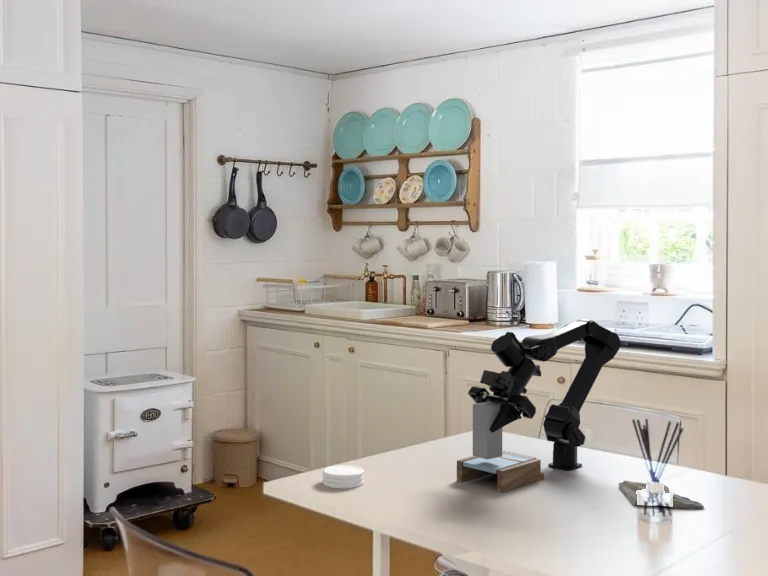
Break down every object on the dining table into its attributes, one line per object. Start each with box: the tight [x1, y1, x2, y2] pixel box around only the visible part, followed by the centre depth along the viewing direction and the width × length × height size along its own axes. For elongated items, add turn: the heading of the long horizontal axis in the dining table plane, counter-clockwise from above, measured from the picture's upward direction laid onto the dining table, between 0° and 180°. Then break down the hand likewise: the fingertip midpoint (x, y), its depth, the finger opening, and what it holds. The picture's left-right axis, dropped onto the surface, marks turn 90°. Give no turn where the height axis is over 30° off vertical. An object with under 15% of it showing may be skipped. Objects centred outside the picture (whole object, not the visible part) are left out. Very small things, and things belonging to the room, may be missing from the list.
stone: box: [472, 402, 503, 460], centre depth 216 cm, size 5×5×12 cm
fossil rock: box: [618, 480, 705, 510], centre depth 206 cm, size 18×15×2 cm
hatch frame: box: [456, 455, 545, 493], centre depth 220 cm, size 14×16×5 cm
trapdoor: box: [463, 450, 537, 475], centre depth 220 cm, size 10×16×3 cm, turn 135°
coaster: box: [321, 464, 365, 490], centre depth 218 cm, size 10×10×4 cm
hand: (483, 429), depth 215 cm, fingers closed on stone, 5 cm apart
